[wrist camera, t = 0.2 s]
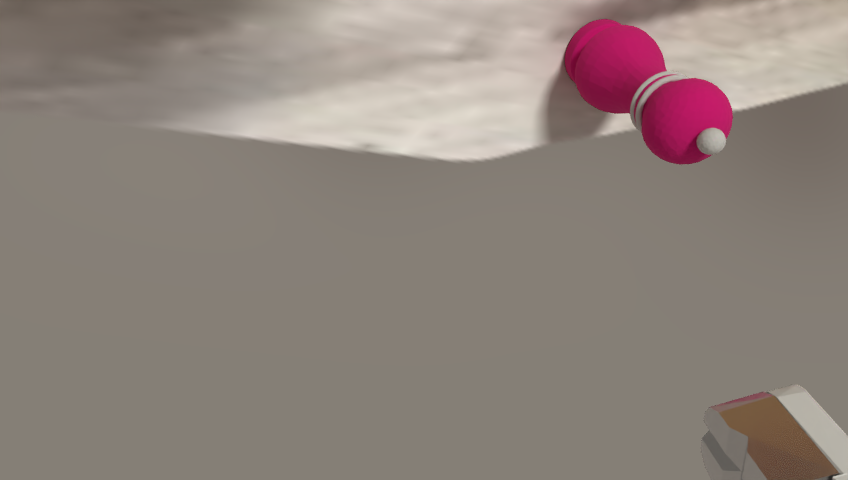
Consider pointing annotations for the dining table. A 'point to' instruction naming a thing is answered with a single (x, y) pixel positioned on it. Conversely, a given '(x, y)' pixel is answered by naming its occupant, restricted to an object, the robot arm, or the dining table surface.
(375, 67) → the dining table surface
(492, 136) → the dining table surface
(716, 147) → the pepper mill
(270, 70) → the dining table surface
